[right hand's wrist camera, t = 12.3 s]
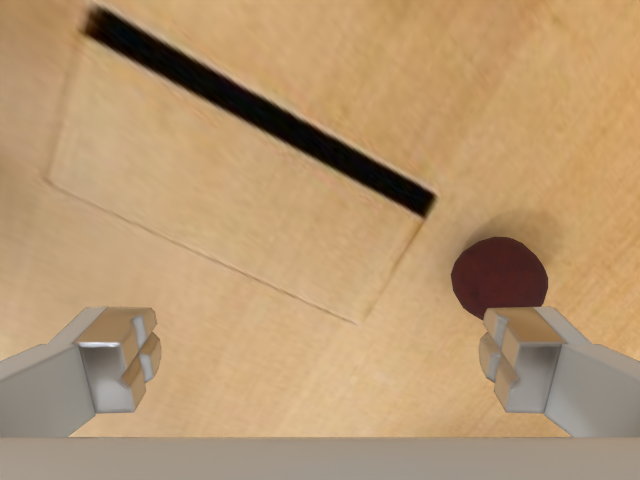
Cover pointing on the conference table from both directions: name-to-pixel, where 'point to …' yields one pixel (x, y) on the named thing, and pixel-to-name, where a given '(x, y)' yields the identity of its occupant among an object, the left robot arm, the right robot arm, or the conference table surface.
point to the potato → (498, 276)
